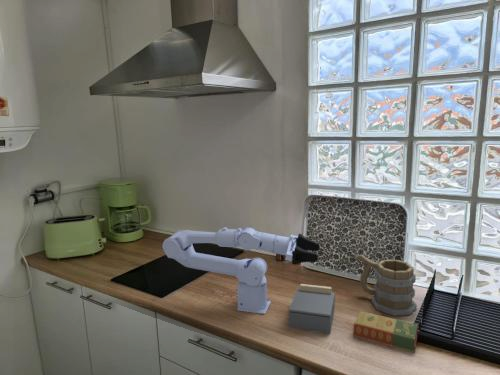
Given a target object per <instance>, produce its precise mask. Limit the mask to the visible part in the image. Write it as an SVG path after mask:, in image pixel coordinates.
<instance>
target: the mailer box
mask: <svg viewBox="0 0 500 375" xmlns="http://www.w3.org/2000/svg"><path fill="white" fill-rule="evenodd" d="M335 298H336V295H334V301H333V306H332V312H331V317H328V316H321V315H313V314H306V313H298V312H291V311H289V310H288V312H289V313H288V315H289V317H288V319H289V320H288V325H289V328H291V329H296V330H302V331H303V330H304V331H309V332H316V333H323V334H329V335H330V334H331V333H332V332H331V331H332V326H333V320H334V315H335V305H336V304H335V303H336V302H335V301H336V300H335Z"/></svg>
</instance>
